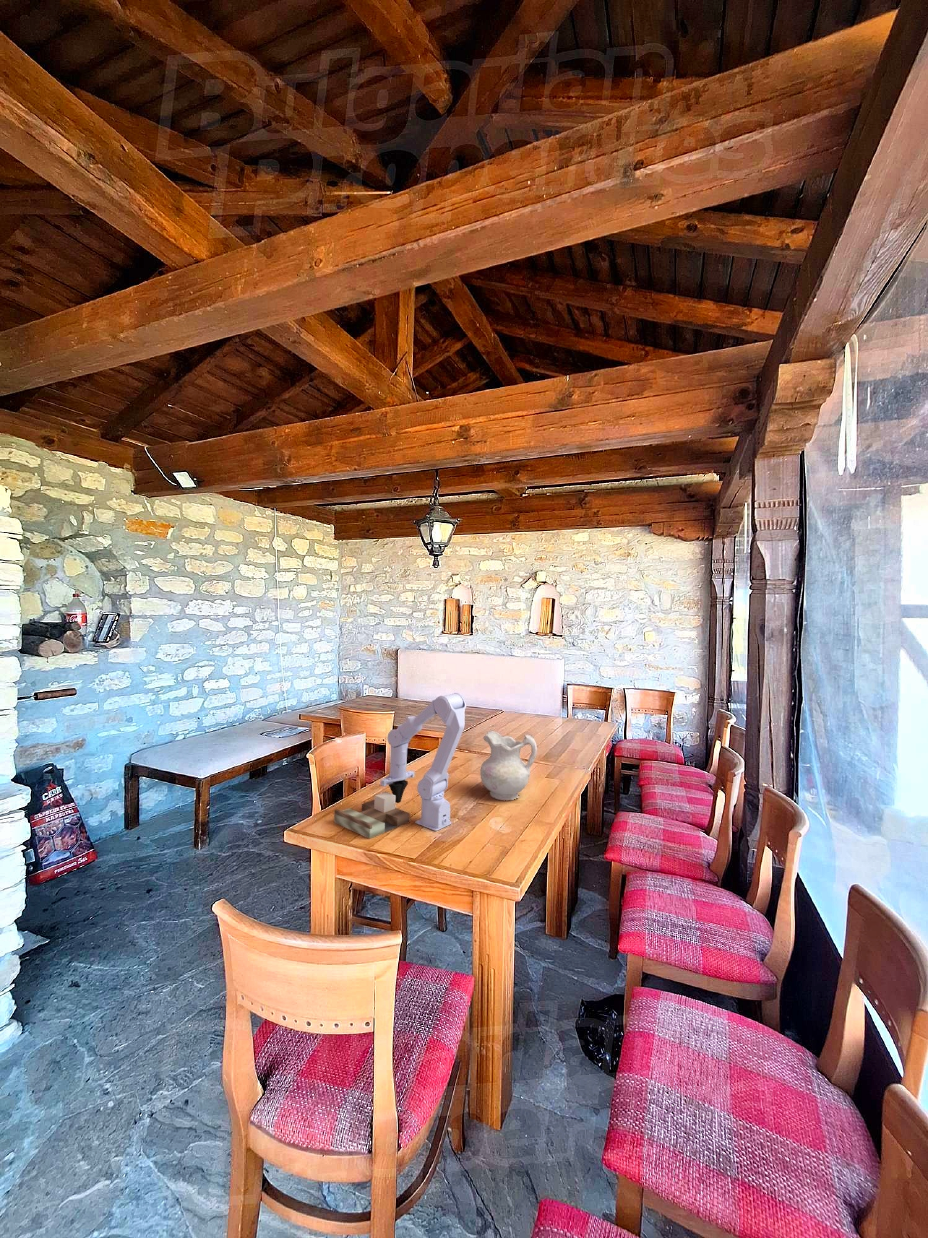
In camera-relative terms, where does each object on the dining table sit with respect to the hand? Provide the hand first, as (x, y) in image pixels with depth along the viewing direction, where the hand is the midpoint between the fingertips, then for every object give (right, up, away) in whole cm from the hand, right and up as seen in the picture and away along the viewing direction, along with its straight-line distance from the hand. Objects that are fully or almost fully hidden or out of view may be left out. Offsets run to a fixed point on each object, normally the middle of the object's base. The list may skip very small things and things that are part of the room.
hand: (397, 802), depth 171 cm
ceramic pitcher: (+40, -5, +20) cm, 45 cm away
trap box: (-7, -4, -9) cm, 12 cm away
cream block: (-4, -1, -4) cm, 6 cm away
